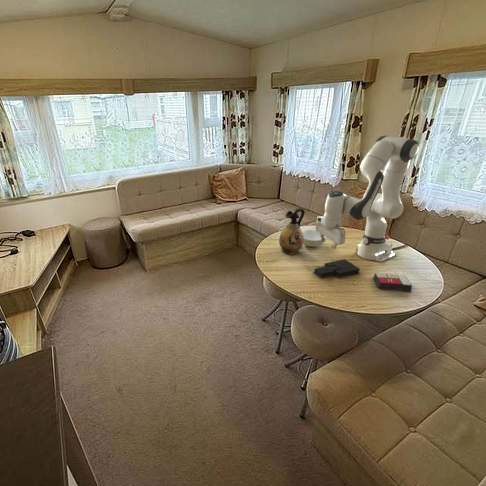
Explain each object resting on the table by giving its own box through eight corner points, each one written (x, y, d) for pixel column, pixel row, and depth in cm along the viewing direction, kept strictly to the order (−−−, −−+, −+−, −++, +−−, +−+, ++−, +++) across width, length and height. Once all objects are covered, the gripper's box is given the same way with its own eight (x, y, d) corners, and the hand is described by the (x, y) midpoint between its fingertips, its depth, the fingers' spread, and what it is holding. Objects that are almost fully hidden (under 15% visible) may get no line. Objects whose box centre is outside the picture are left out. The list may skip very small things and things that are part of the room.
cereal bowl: (303, 237, 215) (304, 228, 212) (327, 242, 206) (328, 233, 203) (294, 245, 203) (295, 236, 200) (319, 252, 194) (320, 242, 191)
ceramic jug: (285, 258, 188) (289, 213, 174) (274, 247, 201) (277, 205, 188) (309, 254, 192) (315, 210, 178) (296, 244, 205) (301, 202, 192)
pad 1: (332, 268, 175) (333, 264, 174) (339, 274, 170) (340, 269, 169) (314, 273, 172) (314, 268, 170) (320, 278, 167) (321, 273, 165)
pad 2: (344, 263, 181) (344, 259, 179) (358, 273, 170) (359, 268, 169) (324, 267, 177) (325, 263, 175) (338, 277, 167) (339, 273, 165)
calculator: (374, 271, 164) (405, 273, 161) (373, 278, 166) (403, 280, 163) (380, 282, 155) (412, 284, 151) (378, 289, 157) (410, 291, 153)
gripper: (350, 227, 151) (346, 251, 157) (324, 214, 169) (321, 236, 175) (340, 230, 149) (336, 254, 156) (315, 216, 167) (312, 238, 173)
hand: (328, 244), depth 165 cm, fingers open, 8 cm apart
